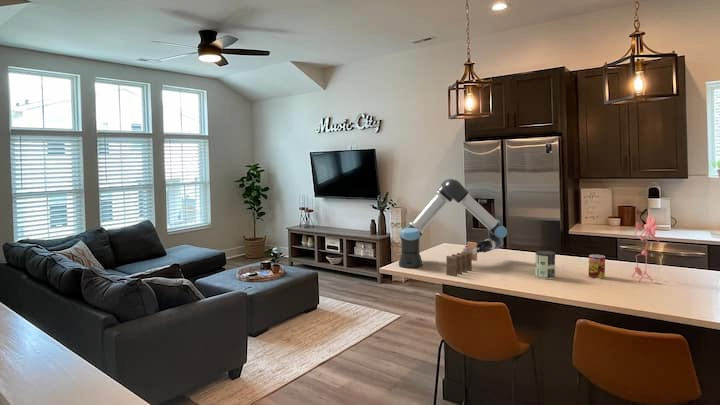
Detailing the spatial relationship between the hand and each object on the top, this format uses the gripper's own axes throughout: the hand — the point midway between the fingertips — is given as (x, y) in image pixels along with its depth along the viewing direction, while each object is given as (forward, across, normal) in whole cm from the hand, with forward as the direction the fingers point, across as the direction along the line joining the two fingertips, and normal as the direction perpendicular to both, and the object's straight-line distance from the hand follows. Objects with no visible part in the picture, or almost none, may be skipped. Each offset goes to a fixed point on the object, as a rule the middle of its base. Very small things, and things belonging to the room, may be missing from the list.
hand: (468, 251), depth 259 cm
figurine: (-42, -85, -12) cm, 96 cm away
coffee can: (-12, -41, -12) cm, 44 cm away
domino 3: (+7, 0, -11) cm, 13 cm away
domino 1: (+18, 0, -11) cm, 21 cm away
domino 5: (-4, 0, -6) cm, 7 cm away
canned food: (-31, -62, -12) cm, 71 cm away
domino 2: (+13, 0, -11) cm, 17 cm away
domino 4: (+2, 0, -11) cm, 12 cm away
